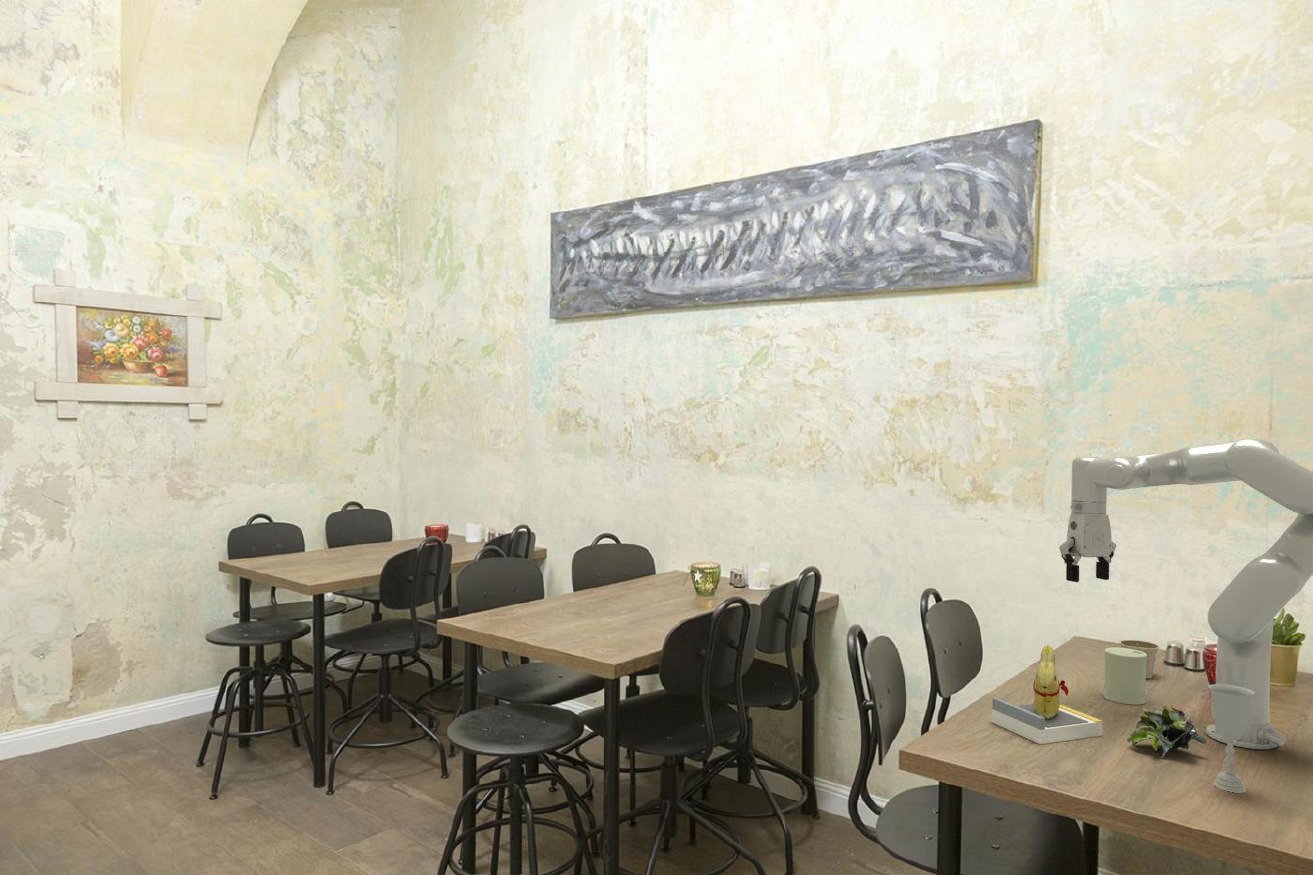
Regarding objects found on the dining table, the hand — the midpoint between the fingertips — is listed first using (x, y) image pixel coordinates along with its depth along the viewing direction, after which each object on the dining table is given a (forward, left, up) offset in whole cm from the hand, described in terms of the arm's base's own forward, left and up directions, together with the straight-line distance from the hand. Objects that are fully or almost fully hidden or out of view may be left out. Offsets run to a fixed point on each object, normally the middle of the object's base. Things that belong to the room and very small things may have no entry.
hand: (1087, 580), depth 205 cm
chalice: (-45, +14, -30) cm, 56 cm away
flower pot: (+15, -34, -30) cm, 48 cm away
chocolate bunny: (-11, +22, -27) cm, 36 cm away
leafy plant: (-29, +10, -30) cm, 43 cm away
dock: (-10, +22, -30) cm, 39 cm away
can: (+1, -13, -30) cm, 33 cm away
